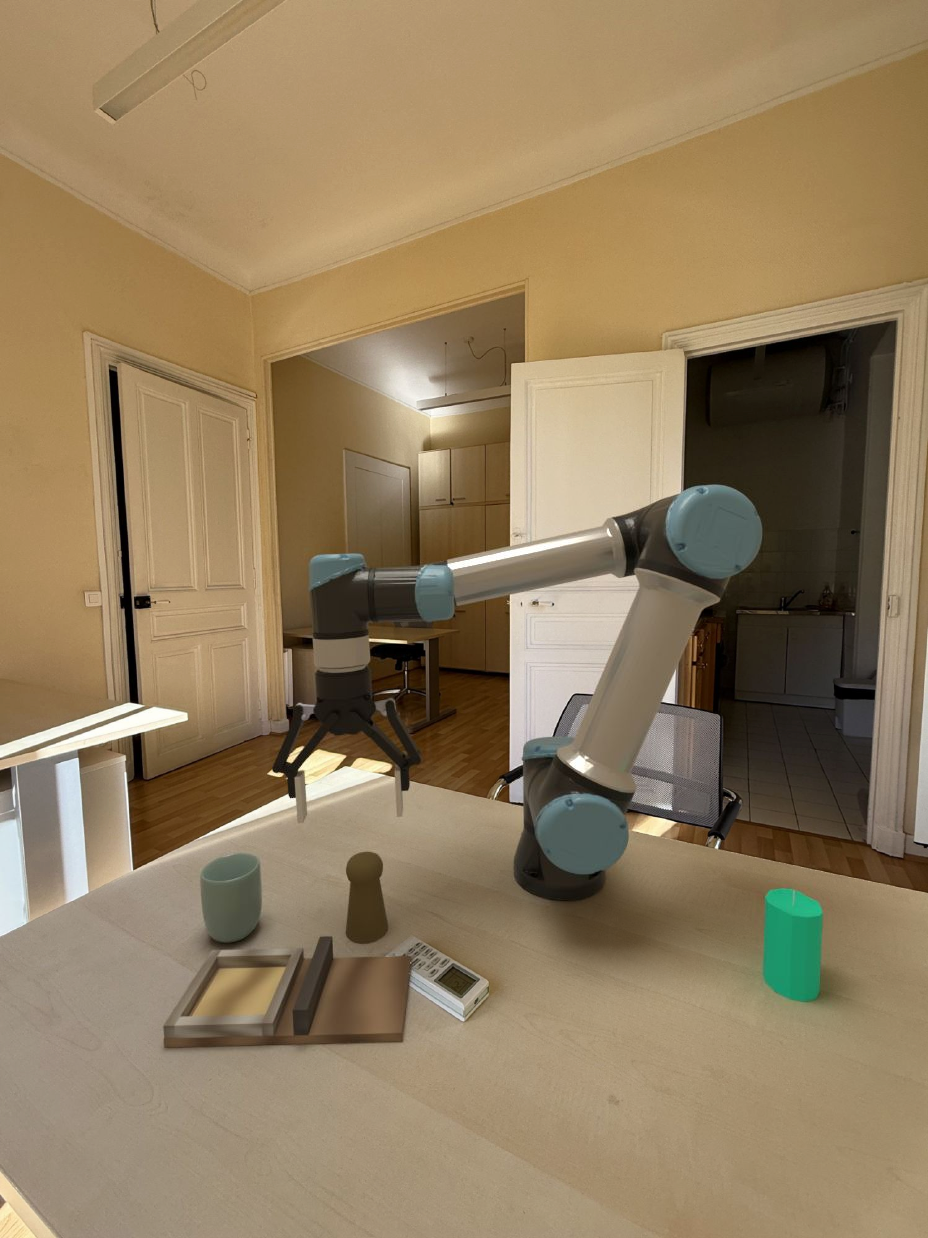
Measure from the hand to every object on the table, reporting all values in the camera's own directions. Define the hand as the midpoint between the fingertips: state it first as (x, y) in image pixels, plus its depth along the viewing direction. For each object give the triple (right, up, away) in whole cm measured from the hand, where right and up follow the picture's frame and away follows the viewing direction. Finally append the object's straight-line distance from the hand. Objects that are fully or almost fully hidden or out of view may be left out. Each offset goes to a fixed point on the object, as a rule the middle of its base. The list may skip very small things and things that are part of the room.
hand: (351, 816), depth 78 cm
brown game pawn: (+2, -17, +2) cm, 17 cm away
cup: (-17, -18, +2) cm, 25 cm away
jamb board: (-4, -18, -11) cm, 22 cm away
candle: (+56, -17, -10) cm, 59 cm away
